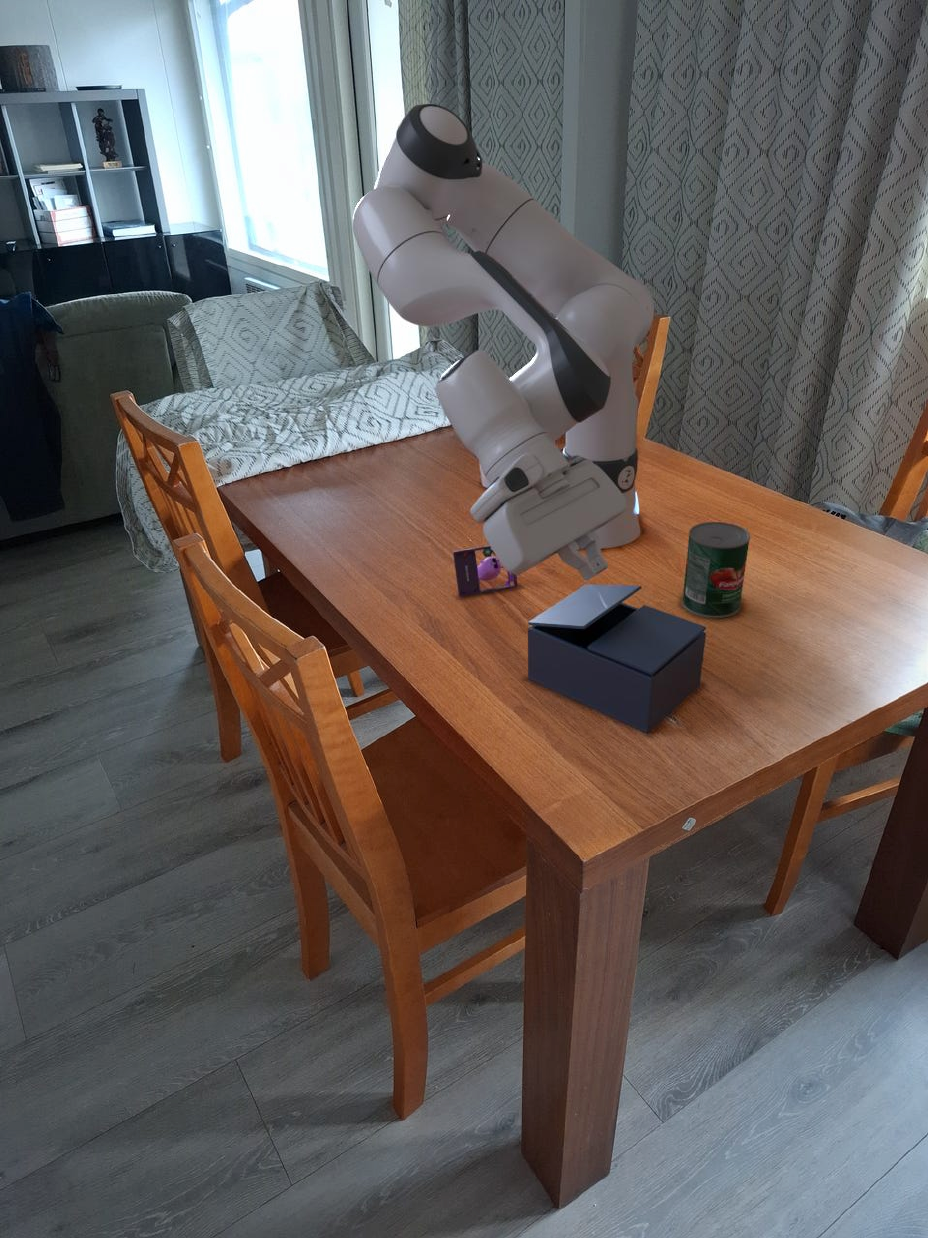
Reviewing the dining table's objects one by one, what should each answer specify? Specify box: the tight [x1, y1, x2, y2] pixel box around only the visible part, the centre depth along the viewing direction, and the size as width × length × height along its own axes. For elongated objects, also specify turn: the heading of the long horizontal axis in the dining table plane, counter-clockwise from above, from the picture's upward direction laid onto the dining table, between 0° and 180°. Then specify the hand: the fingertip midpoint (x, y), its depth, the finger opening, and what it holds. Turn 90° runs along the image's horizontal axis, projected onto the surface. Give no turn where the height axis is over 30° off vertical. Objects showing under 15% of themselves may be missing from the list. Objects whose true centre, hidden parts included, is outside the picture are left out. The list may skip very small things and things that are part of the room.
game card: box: [452, 545, 518, 598], centre depth 123 cm, size 7×5×9 cm
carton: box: [527, 602, 707, 734], centre depth 99 cm, size 17×12×8 cm
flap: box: [527, 583, 642, 629], centre depth 99 cm, size 8×12×1 cm
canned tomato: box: [681, 521, 751, 619], centre depth 113 cm, size 8×8×11 cm
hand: (597, 574), depth 95 cm, fingers closed
